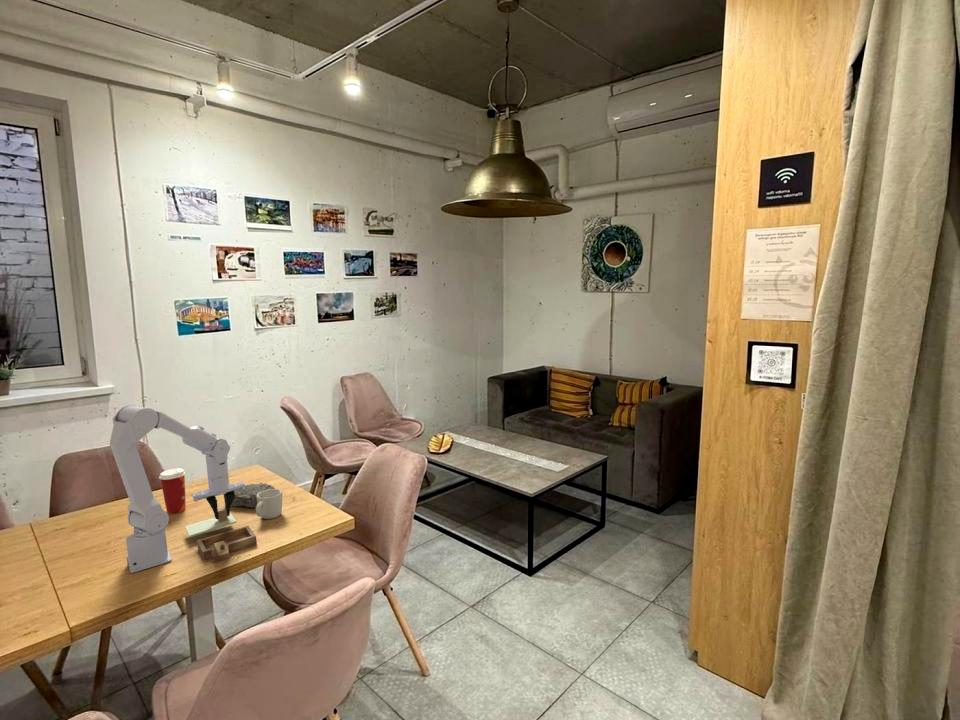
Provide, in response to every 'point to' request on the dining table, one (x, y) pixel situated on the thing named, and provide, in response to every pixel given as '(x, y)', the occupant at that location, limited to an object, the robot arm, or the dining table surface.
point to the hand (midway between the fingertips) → (222, 516)
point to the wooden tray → (232, 540)
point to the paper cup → (174, 490)
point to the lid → (210, 523)
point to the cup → (269, 503)
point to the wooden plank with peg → (221, 548)
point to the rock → (249, 495)
